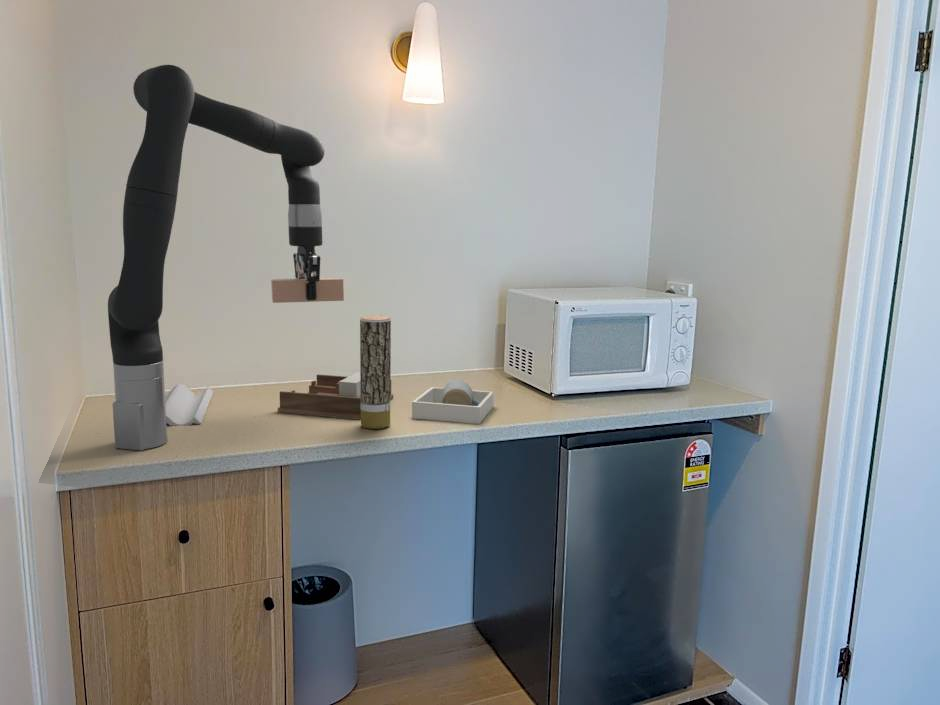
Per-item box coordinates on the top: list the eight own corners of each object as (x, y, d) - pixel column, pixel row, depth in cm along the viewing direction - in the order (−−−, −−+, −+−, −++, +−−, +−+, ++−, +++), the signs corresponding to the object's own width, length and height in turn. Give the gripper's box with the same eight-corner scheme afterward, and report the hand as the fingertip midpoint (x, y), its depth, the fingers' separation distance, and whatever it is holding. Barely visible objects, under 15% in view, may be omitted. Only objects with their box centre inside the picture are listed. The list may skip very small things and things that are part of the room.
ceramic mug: (441, 416, 175) (442, 386, 173) (442, 408, 183) (443, 378, 181) (484, 418, 175) (486, 387, 174) (483, 409, 183) (485, 380, 182)
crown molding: (200, 427, 164) (199, 412, 163) (143, 430, 161) (142, 414, 160) (213, 394, 194) (212, 381, 193) (165, 396, 191) (164, 383, 190)
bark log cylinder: (362, 430, 162) (362, 320, 157) (358, 422, 168) (358, 316, 164) (392, 429, 163) (393, 319, 159) (387, 421, 170) (387, 315, 165)
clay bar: (341, 298, 173) (340, 277, 172) (343, 300, 169) (343, 279, 168) (272, 300, 168) (271, 279, 167) (273, 302, 164) (272, 280, 163)
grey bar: (356, 403, 174) (356, 382, 173) (339, 401, 175) (338, 381, 174) (379, 388, 189) (379, 370, 188) (363, 387, 190) (363, 369, 189)
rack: (362, 419, 171) (362, 398, 170) (277, 411, 176) (277, 391, 175) (393, 398, 192) (393, 379, 191) (316, 392, 197) (316, 374, 196)
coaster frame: (479, 423, 169) (480, 407, 169) (411, 418, 173) (412, 401, 172) (493, 406, 185) (493, 391, 185) (431, 401, 189) (431, 387, 188)
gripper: (330, 225, 161) (333, 301, 164) (312, 224, 173) (314, 295, 177) (297, 225, 157) (300, 303, 161) (280, 224, 170) (283, 296, 173)
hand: (307, 298), depth 169 cm, fingers closed on clay bar, 5 cm apart
